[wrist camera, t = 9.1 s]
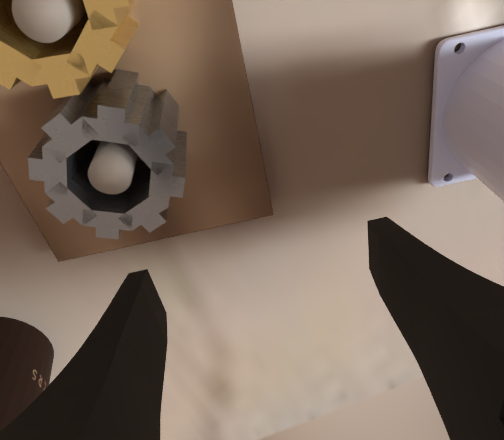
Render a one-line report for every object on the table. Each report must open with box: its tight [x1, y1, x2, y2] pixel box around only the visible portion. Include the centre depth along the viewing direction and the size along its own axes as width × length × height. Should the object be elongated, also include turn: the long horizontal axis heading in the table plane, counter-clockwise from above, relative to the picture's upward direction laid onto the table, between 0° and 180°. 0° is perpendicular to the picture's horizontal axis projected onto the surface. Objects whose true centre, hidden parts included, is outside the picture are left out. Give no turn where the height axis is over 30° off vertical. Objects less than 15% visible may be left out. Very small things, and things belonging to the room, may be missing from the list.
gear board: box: [0, 0, 273, 262], centre depth 17 cm, size 12×18×6 cm, turn 11°
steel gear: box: [28, 69, 187, 239], centre depth 18 cm, size 6×6×4 cm
